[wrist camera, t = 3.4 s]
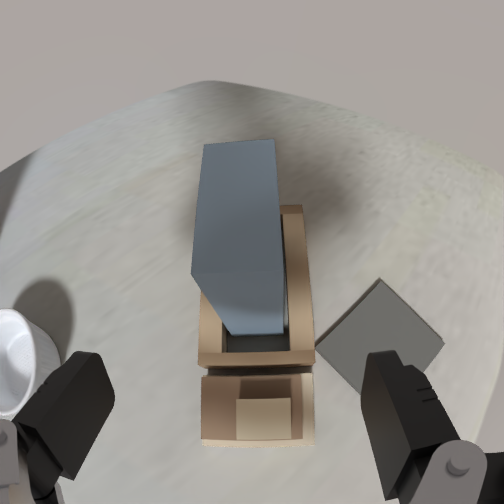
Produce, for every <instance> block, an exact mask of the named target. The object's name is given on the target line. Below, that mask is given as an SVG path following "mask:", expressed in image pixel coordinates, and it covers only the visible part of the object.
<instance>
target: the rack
mask: <svg viewBox="0 0 504 504" xmlns="http://www.w3.org/2000/svg"><path fill="white" fill-rule="evenodd" d="M279 207H280V221H281V229H282V228H283V237H284V252H285V268H286V286H287V304H288V325H289V348H290V351H278V352H245V353H227V328H226V326H225V325H224V323H223V322H222V320H221V319H220V317H219V316H218V314H217V313H216V311H215V310H214V309H213V307H212V306H211V304H210V303H209V301H208V300H207V298H206V297H205V295H204V293H203V292H202V290H201V299H200V320H199V347H198V365H199V366H201V367H203V368H205V369H253V368H283V367H302V366H313V364H314V363H315V346H314V330H313V316H312V303H311V291H310V279H309V268H308V257H307V247H306V238H305V228H304V219H303V210H302V205H284V206H279ZM201 439H203V446H215V447H292V446H308V445H315V441H314V403H313V378H312V373H302V374H283V375H251V376H212V375H203V377H202V381H201Z"/></svg>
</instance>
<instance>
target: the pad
mask: <svg viewBox="0 0 504 504" xmlns="http://www.w3.org/2000/svg"><path fill="white" fill-rule="evenodd" d="M444 344H445V343H444V342H443V341H442V340H441V339H440V338H439V337H438V336H437V335H436V334H435V333H434V332H433V331H432V330H431V329H430V328H429V327H428V326H427V325H426V324H425V323H424V322H423V321H422V320H421V319H420V318H419V317H418V316H417V315H416V314H415V313H414V312H413V311H412V310H411V309H410V308H409V307H408V306H407V305H406V304H405V303H404V302H403V301H402V300H401V299H400V298H399V297H398V296H397V295H396V294H395V293H394V292H393V291H392V290H390V289H389V288H388V287H387V286H386V285H385V284H384V283H383V282H382V281H381V282H380V283H379V284H378V285H377V286H376V287H375V288H374V289H373V290H372V291H371V292H370V293H369V294H368V295H367V297H366V298H365V299H364V300H363V301H362V302H361V303H360V304H359V305H358V306H357V307H356V308H355V309H354V310H353V311H352V312H351V313H350V314H349V315H348V316H347V317H346V318H345V319H344V320H343V321H342V322H341V323H340V324H339V325H338V326H337V327H336V328H335V329H334V330H333V331H332V332H331V333H330V334H329V335H328V336H327V337H326V338H325V339H324V340H322V341H321V342H320V343H319V344H318V345H317V346H316V347H315V350H316V351H317V352H318V353H319V354H320V355H321V356H322V357H323V358H324V359H325V360H326V361H327V362H328V363H329V364H330V365H331V366H332V367H333V368H334V369H335V370H336V371H337V372H338V373H339V374H340V375H341V376H342V377H343V378H344V379H345V380H346V381H347V382H348V383H349V384H350V385H351V386H352V387H353V388H354V389H355V390H356V391H357V392H358V393H359V394H360V395H361V390H362V384H363V378H364V372H365V366H366V359H367V355H368V354H369V353H371V352H379V351H387V350H395V351H396V352H397V354H398V356H399V358H400V359H401V361H402V363H403V365H404V366H405V365H413V366H415V367H416V368H417V369H419V370H420V371H421V372H424V371H425V370H426V368H427V367H428V366H429V364H430V363H431V362H432V361H433V359H434V358H435V357H436V355H437V354H438V353H439V351H440V350H441V349H442V347H443V346H444Z"/></svg>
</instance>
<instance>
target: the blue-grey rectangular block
mask: <svg viewBox="0 0 504 504" xmlns="http://www.w3.org/2000/svg"><path fill="white" fill-rule="evenodd" d="M191 275H192V277H193V278H194V280H195V281H196V283H197V284H198V286H199V287H200V289H201V290H202V292H203V293H204V295H205V297H206V298H207V300H208V301H209V303H210V304H211V306H212V307H213V309H214V310H215V311H216V313H217V314H218V316H219V317H220V319H221V320H222V322H223V323H224V325H225V326H226V328H227V329H228V331H229V332H230V333H231V335H232V336H233V337H239V336H272V335H283V291H284V270H283V253H282V237H281V221H280V207H279V193H278V180H277V167H276V154H275V142H274V139H266V140H251V141H238V142H226V143H216V144H206V145H204V149H203V157H202V165H201V174H200V182H199V191H198V200H197V210H196V220H195V231H194V242H193V253H192V266H191Z"/></svg>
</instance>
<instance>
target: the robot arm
mask: <svg viewBox="0 0 504 504" xmlns="http://www.w3.org/2000/svg"><path fill="white" fill-rule="evenodd" d="M114 402H115V394H114V389H113V387H112V384H111V382H110V379H109V377H108V374H107V371H106V369H105V366H104V363H103V360H102V358H101V356H100V355H99V354H97V353H91V352H82V351H76V352H74V353H73V354H72V355H71V357H70V358H69V359H68V360H67V361H66V362H65V364H63V365H62V366H60V367H59V368H57V369H56V370H54V371H53V372H51V374H50V375H49V376H48V377H47V378H46V379H45V381H44V384H41V385H40V387H39V388H38V389H37V392H35V393H34V394H33V395H32V396H31V397H30V399H29V400H28V401H27V402H26V404H25V405H24V406H23V407H22V409H21V410H20V411H19V412H18V414H17V415H16V416H15V417H14V419H13V420H12V421H9V420H5V419H0V504H65V503H64V499H63V495H62V491H61V487H60V485H59V483H58V482H57V480H58V478H59V476H62V477H65V478H68V479H70V480H73V481H74V479H75V477H76V475H77V473H78V472H79V470H80V468H81V466H82V464H83V462H84V460H85V458H86V456H87V454H88V453H89V451H90V449H91V447H92V445H93V443H94V441H95V439H96V438H97V436H98V434H99V432H100V430H101V428H102V427H103V425H104V423H105V421H106V419H107V417H108V416H109V414H110V412H111V410H112V408H113V406H114ZM361 410H362V414H363V418H364V421H365V425H366V428H367V432H368V435H369V439H370V443H371V446H372V450H373V454H374V458H375V462H376V465H377V469H378V473H379V477H380V481H381V485H382V489H383V494H384V498H385V501H386V500H391V499H395V498H398V499H399V503H400V504H504V452H499V453H484V452H483V451H482V450H481V448H479V447H478V446H477V445H475V444H474V443H472V442H469V441H464V440H461V439H460V437H459V436H458V434H457V432H456V430H455V428H454V426H453V424H452V422H451V420H450V418H449V417H448V415H447V413H446V411H445V409H444V407H443V406H442V404H441V402H440V400H438V396H437V395H436V393H435V391H434V389H432V386H431V384H430V382H429V381H428V379H427V377H426V375H425V374H424V373H423V372H421V371H420V370H419V369H417V368H416V367H415V366H413V365H405V366H404V365H403V363H402V361H401V359H400V358H399V356H398V354H397V352H396V351H395V350H387V351H379V352H371V353H369V354H368V355H367V359H366V366H365V372H364V378H363V384H362V390H361Z"/></svg>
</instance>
